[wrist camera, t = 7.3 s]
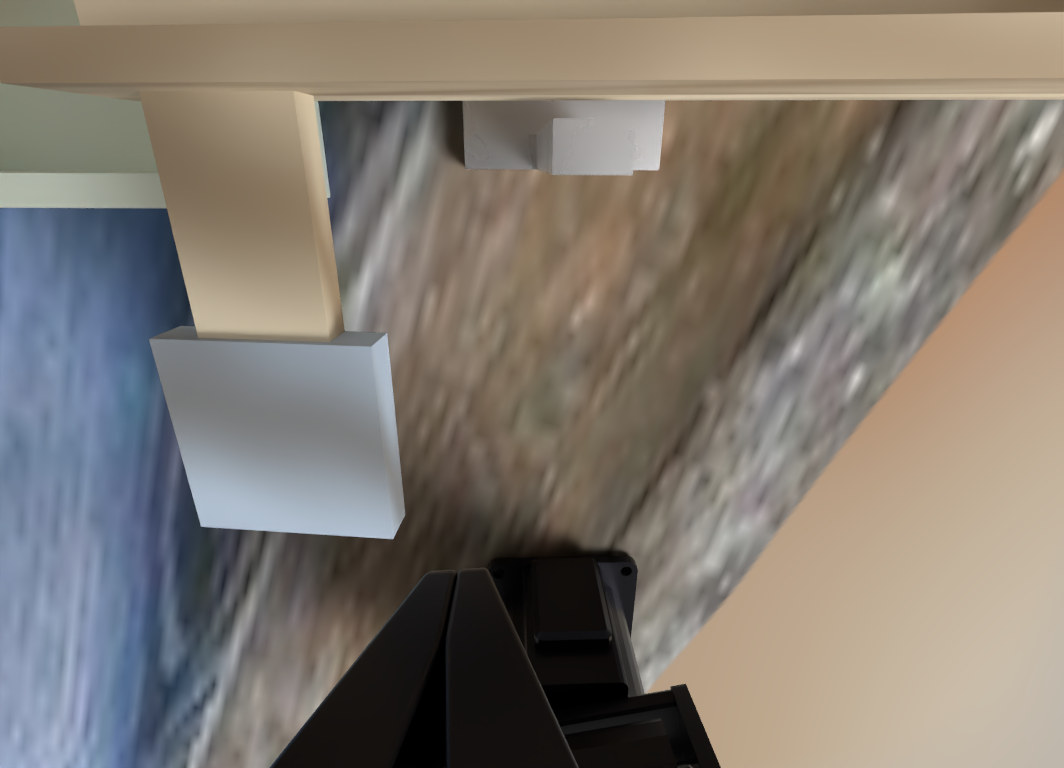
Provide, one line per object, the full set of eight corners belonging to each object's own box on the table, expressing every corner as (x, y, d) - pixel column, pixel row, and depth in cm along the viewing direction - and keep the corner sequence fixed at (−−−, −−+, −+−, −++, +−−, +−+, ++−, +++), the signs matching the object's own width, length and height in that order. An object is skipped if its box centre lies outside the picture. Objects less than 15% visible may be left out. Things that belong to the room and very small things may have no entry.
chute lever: (867, 463, 17) (1005, 611, 11) (283, 433, 18) (153, 551, 13) (1089, -324, 10) (1683, -895, 5) (148, -267, 12) (-237, -646, 6)
